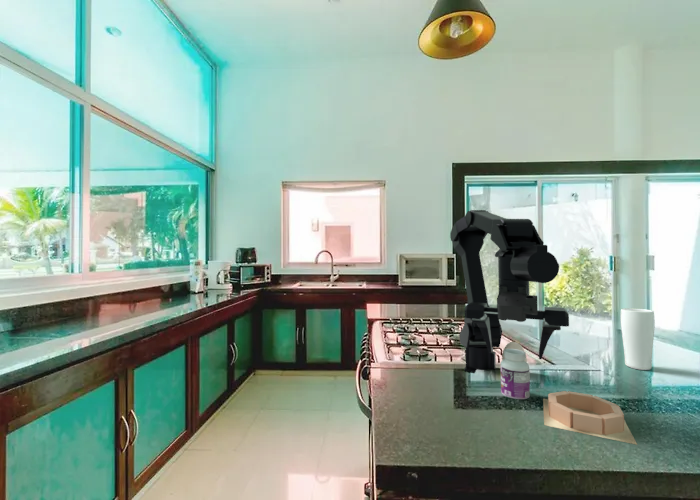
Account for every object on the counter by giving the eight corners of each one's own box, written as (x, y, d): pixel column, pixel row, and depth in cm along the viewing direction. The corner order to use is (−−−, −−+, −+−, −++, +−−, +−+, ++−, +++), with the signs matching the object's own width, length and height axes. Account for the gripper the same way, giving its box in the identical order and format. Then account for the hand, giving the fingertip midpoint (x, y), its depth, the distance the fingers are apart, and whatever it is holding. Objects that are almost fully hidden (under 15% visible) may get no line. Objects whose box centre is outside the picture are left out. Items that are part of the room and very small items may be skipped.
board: (544, 431, 56) (544, 424, 56) (543, 403, 66) (543, 398, 66) (637, 451, 50) (637, 444, 50) (620, 417, 60) (620, 412, 60)
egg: (503, 376, 81) (502, 343, 82) (501, 369, 87) (501, 338, 87) (528, 379, 80) (528, 345, 80) (525, 371, 85) (524, 340, 85)
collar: (549, 424, 56) (549, 408, 56) (547, 400, 65) (547, 387, 65) (629, 440, 51) (628, 423, 51) (615, 412, 60) (615, 398, 60)
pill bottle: (495, 393, 71) (495, 347, 71) (519, 392, 72) (519, 347, 72) (510, 404, 66) (509, 355, 66) (535, 403, 66) (535, 354, 66)
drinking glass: (662, 372, 84) (661, 312, 84) (631, 370, 85) (630, 311, 85) (644, 364, 90) (643, 308, 91) (615, 362, 92) (614, 307, 92)
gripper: (458, 280, 67) (459, 359, 66) (570, 283, 58) (572, 375, 57) (468, 277, 76) (469, 346, 76) (566, 279, 67) (567, 358, 67)
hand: (514, 355), depth 69 cm, fingers open, 9 cm apart
